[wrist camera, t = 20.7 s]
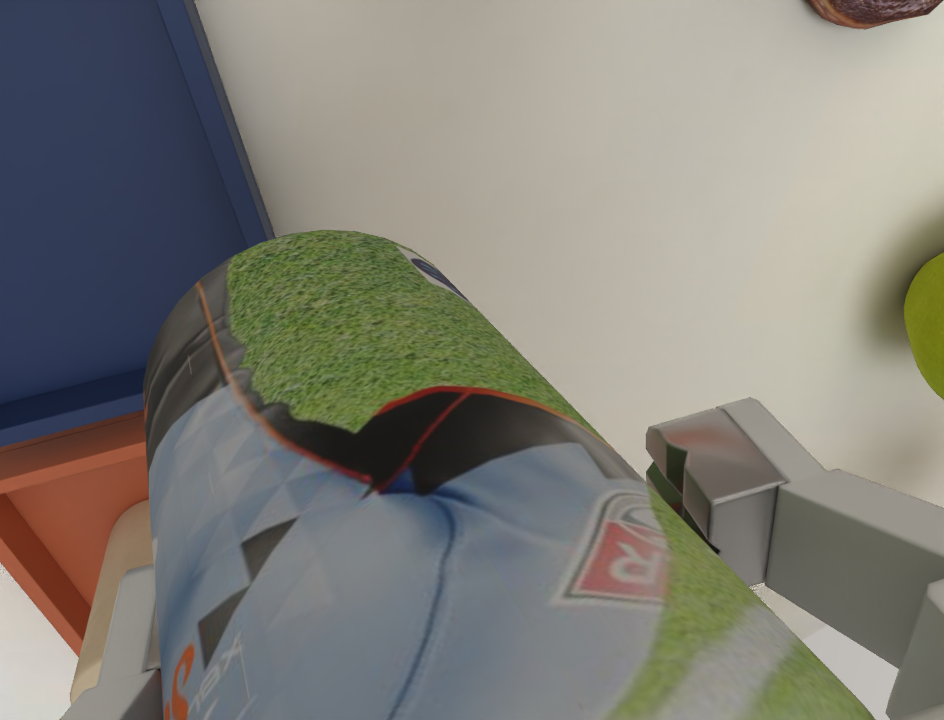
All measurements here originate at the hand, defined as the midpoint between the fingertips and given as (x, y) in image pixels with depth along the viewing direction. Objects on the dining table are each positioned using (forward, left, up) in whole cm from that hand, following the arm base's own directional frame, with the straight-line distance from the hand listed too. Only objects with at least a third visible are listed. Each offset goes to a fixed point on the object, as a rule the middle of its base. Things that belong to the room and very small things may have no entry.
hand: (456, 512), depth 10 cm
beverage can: (0, +1, -5) cm, 5 cm away
